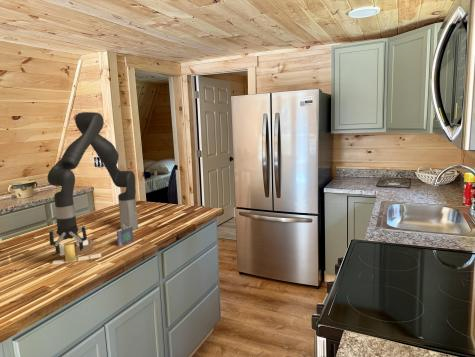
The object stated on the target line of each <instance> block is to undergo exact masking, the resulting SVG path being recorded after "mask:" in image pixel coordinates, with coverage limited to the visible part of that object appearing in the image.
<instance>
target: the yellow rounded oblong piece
mask: <svg viewBox="0 0 475 357" xmlns="http://www.w3.org/2000/svg"><path fill="white" fill-rule="evenodd" d="M64 244H65V245H64V251H65V255H64V257H65V259H64V260H65V261H66V262H67V263H72V262H71V261H73V262H75V261H74V260H76V256H77V255H76V256H75V248H74V243H73V242H68V243H64ZM76 261H77V260H76Z"/></svg>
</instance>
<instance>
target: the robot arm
mask: <svg viewBox="0 0 475 357" xmlns="http://www.w3.org/2000/svg"><path fill="white" fill-rule="evenodd" d="M74 122H75V125H76V128H77V129H78V131H79V133H81V135H80V136H79V137H78V138H77V139H75V140H74V141H73V142H71V143H70V144H69V145H68V146H67V147H66V148H65V151H64V153H63V154H62V156H61V158H60V160H58V161H57V162H56V163H55V164H54V165H53V166H52V168H50V170H49V171H48V172H47V173H48V174H47V182H48V184H50V185H51V186H53V187H61V190H59V191H57V192H55V193H54V197H53V199H54V205H55V210H54V211H55V219H56V220H55V221H56V228H57V229H56V230H53V229H50V231H49V233H48V234H49V245H50V246H55V252H56V254H58V255H59V254H60V246H59V245H60V243H61V242H62V240H68V239H72V240H73V239H75V240H76V241H77V240H78V241H79V248H80V251H82V249H83V241H85V240H88V235H87V231H86V230H87V229H86V226H85V225H82V226H79V227H78V224H77V216H76V214H77V212H76V208H75V205H74V204H75V203H74V190H75V184H76V183H75V182H76V175H75V173H74V172H73V171H72V170H75V169H76V168H78V166H79V164H80V162H81V160H82V158H83V156H84V154H85V153H86V151H87V149H88V148H89V146H91V148H92V149H93V150H94V151H95V153H96V155H97V156H98V158H99V159H100V161H101V162H102V165H104V167H105V169H106V170H107V172H108V174H109V177H110V178H111V181H112V182H113V184H114V185H115V187H117V188H125V191H123V192H122V193H119V194H118V196H117V198H118V208H119V209H118V210H119V220H120V222H119V223H120V229H122V226H121V225H123V224H124V225H125V226H132V231H133V230H136V229H139V221H138V212H137V202H136V190H137V189H136V175H135V172H134V171H132V170H120V168H119V167H118V165H117V164H118V162H119V152H118V151H117V149H116V147H115V146H114V144H113V143H112V142H111V141H110V140H108V139H107V138H105V136H102V135H101V131H102V129H103V128H104V124H105V122H104V117H103V115H102V114H101V113H100V112H93V111H91V112H90V111H89V112H87V111H86V112H85V111H83V112H78V113H77V114H76V115H75V117H74ZM79 231H80V232H81V233H82V236H80V235H79V234H78V232H79ZM56 234H57V235H58V236H59V237H58V238H57V239H56V241H55V238H54V236H56ZM81 237H83V238H81Z"/></svg>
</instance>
